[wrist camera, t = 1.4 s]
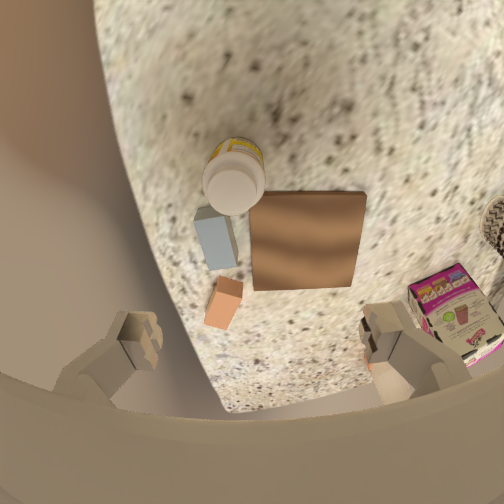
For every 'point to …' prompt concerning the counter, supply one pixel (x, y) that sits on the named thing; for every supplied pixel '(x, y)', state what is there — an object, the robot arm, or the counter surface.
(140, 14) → the counter surface
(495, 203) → the decorative candle
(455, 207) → the counter surface
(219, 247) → the brick blue
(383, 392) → the pepper shaker
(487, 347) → the candy bar box
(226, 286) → the brick terracotta
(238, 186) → the supplement bottle
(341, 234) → the board
